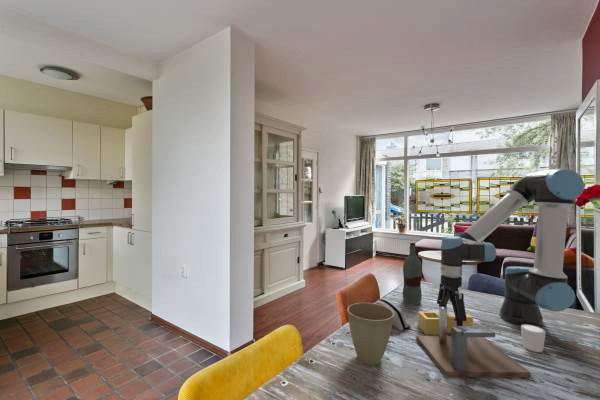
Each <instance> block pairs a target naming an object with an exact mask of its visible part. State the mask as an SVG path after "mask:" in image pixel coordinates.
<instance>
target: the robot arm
mask: <svg viewBox="0 0 600 400" xmlns="http://www.w3.org/2000/svg"><path fill="white" fill-rule="evenodd" d="M584 189H585V183H584V179H583V178H582V176H581V175H580V174H578V172H576V171H575V170H573V169H569V168H553V169H546V170H537V171H532V172H530V173H527V174H526V175H524V176H522V177H520V179H518V180H517V181H516V182H515V183H513V184H512V185H511V186H510V187H509V188H507V189H506V190H505V195H504V196H502V197H501V198H500V199H499V200H498V201H497V202H496V203H495V204H493V205H492V206H491V207H490V208H489V209H488V210H487V211H485V212H484V214H482V215H481V216H480V217H479V218H477V220H476V221H475V222H474V223H472V224H471V225H470V226H469V227H468V228H466V229H465V230H464V231H463V232H462V233H461V234H460V235H459V236H458V235H456V236H453V235H448V236H447V235H446V236H443V237H442V238H441V245H440V256H441V261H440V268H439V269H440V283H439V290H438V295H437V299H436V304H437V305H438V307H441V306H442V307H446V308H448V303H449V302H450V303H451V305H452V306H451V307H452V309H453V314H455V318H456V319H454V327H456V326H463V321H467V318H466V314H467V313H466V307H465V301H464V298H465V294H464V293H462V292H461V293H460V291H459V288H460V287H462V286H463V277H462V276H463V262H482V263H485V262H487V263H488V262H493V261H495V260H496V256H497V250H496V247H495V245H494V244H493V243H492V242H486V241H484V240H485V239H486V238H487V237H488V236H489V235H491V234H492V233H493V232H494V231H495V230H496V229H497V228H499V227H500V226H501V225H502V224H503V223H504V222H506V221H507V220H508V219H509V218H510V217H511V216H512V215H513V214H514V213H516V212H517V211H518V210H519V209H520V208H521V207H527V206H528V205H529V204H530V203H532V202H533V201H534V202H533V203H534V205H536V206H537V207H538V213H537V214H538V215H537V225H536V237H535V249H534V258H533V260H534V261H533V267H530V266H516V265H515V266H514V265H513V266H507V267H506V268H505V269H504V300H503V302H502V304H501V307H500V308H499V317H500V318H502V319H503V320H505V321H507V322H510V323H512V324H516V325H520V326H521V325H524V324H526V325H533V326H537V327H542V326H543V325H544V317H543V316H542V312H541V310H540V308H542V309H545V310H547V311H549V312H563V311H566V309H568V308H570V307H571V306H572V305H573V303H574V302H575V299H576V295H575V291H574V289H573V288H572V287H571V286H570V285H569V284H568V275H567V274H565V273H564V271H563V269H564V260H565V250H566V249H565V247H566V238H567V237H566V236H567V226H568V225H567V224H568V213H569V209H570V208H571V207H573V206H575V199H578V198H579V197H580V196H581V195H582V194H583V192H584ZM539 307H540V308H539Z"/></svg>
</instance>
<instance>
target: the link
mask: <svg viewBox="0 0 600 400" xmlns="http://www.w3.org/2000/svg"><path fill="white" fill-rule="evenodd" d="M417 311H418V310H417ZM417 315H418V316H417V326H418V327H419V328H420V330H421V331H422V332H423V333H424V334H425V335H437V336H439V312H437V311H431V310H430V311H429V310H428V311H424V310H423V311H422V310H421V311H418V313H417ZM466 318H467V321H463V326H474V317H473V316H472V315H470V314H469V313H466ZM454 319H456V318H455V314H454V313H447V333H452V327H454Z"/></svg>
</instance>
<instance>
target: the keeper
mask: <svg viewBox="0 0 600 400" xmlns="http://www.w3.org/2000/svg"><path fill="white" fill-rule="evenodd" d="M451 336H452V355H451V365H452V367H453V368H454V369H455V370H456V371H467V337H485V338H496V332H495V331H494V330H492V329H491V328H490V327H488V326H476V325H475V326H474V325H473V326H456V327H452V332H451Z"/></svg>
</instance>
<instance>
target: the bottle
mask: <svg viewBox="0 0 600 400" xmlns="http://www.w3.org/2000/svg"><path fill="white" fill-rule="evenodd" d="M402 264H403V266H402V274H403V288H402V299H403V302H404V303H405V304H409V305H413V306H415V305H416V306H418V305H420V304H421V302H422V297H423V296H422V295H423V294H422V286H421V284H422V275H423V266H422V262H421V260H420V258H419V257H418V256H417V254H416V243H415V242H410V243H409V254H408V255H407V256H406V258H405V260H404V262H403V263H402Z"/></svg>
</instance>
